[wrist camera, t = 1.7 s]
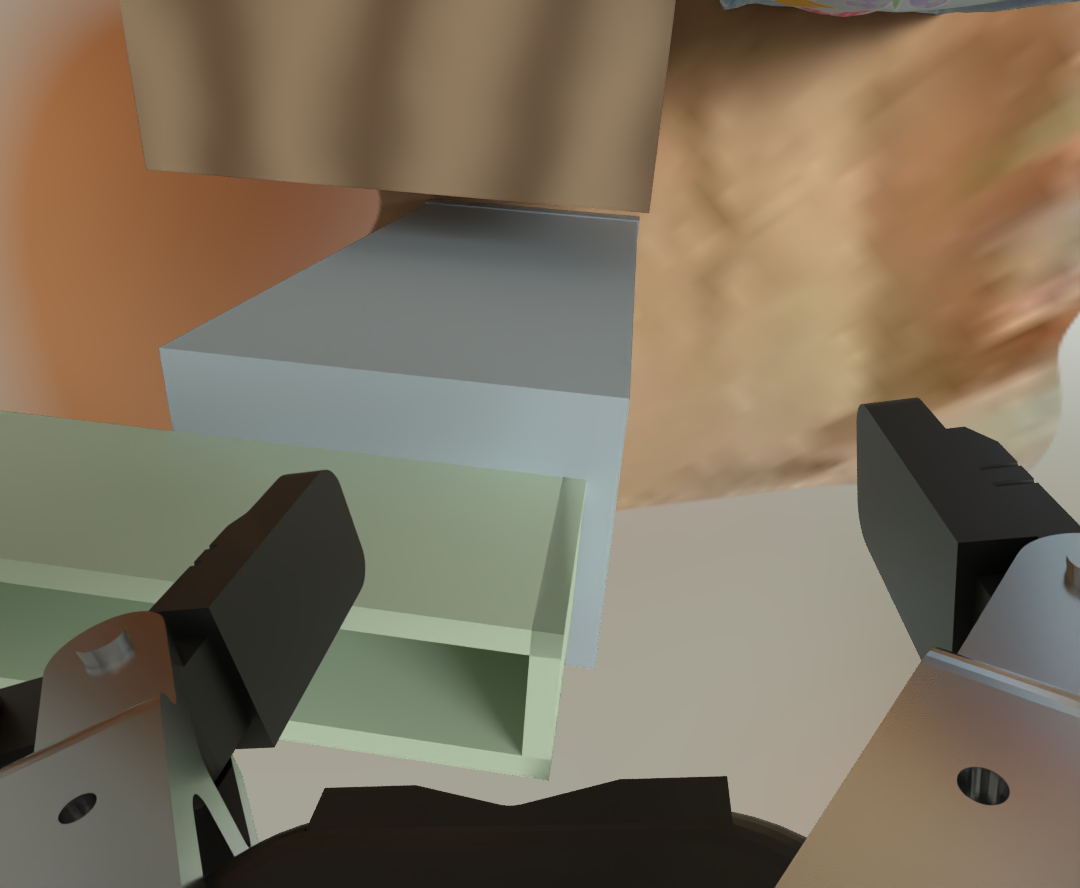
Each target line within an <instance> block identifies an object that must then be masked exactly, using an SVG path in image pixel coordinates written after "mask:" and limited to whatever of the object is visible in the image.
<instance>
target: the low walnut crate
mask: <svg viewBox="0 0 1080 888" xmlns="http://www.w3.org/2000/svg"><path fill="white" fill-rule="evenodd" d="M675 3H676V0H119V4H120V10H121V16H122V23H123V29H124V35H125V41H126V47H127V54H128V60H129V66H130V72H131V79H132V85H133V91H134V97H135V103H136V109H137V116H138V122H139V129H140V135H141V141H142V147H143V153H144V159H145V166H146V169H147V170H158V171H170V172H182V173H193V174H206V175H216V176H228V177H239V178H251V179H262V180H274V181H285V182H296V183H309V184H320V185H331V186H342V187H354V188H366V189H377V190H388V191H400V192H411V193H423V194H434V195H446V196H457V197H469V198H480V199H492V200H503V201H515V202H526V203H538V204H549V205H561V206H572V207H584V208H595V209H607V210H618V211H630V212H641V213H649V210H650V202H651V194H652V186H653V178H654V170H655V162H656V154H657V146H658V138H659V130H660V122H661V114H662V106H663V98H664V90H665V82H666V75H667V67H668V59H669V51H670V43H671V35H672V27H673V19H674V11H675Z"/></svg>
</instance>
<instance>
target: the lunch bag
mask: <svg viewBox="0 0 1080 888" xmlns="http://www.w3.org/2000/svg"><path fill="white" fill-rule="evenodd" d="M719 1H720V4H721V5H722V7H723V10H728V9H733V8H738V7H741V6H744V5H746V4H753V3H758V4H763V5H770V6H790V7H792V6H793V7H796V8H799V9H802V10H806V11H809V12H813V13H818V14H825V15H832V16H840V17H849V16H856V15H864V14H868V13H872V12H875V11H885V12H918V13H931V14H937V15H940V14H946V13H953V12H963V13H969V12H971V13H972V12H996V11H1003V10H1011V9H1020V8H1026V7H1035V6H1043V5H1050V4H1058V3H1066V2H1076V1H1080V0H719Z"/></svg>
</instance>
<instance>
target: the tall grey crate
mask: <svg viewBox="0 0 1080 888" xmlns="http://www.w3.org/2000/svg"><path fill="white" fill-rule="evenodd" d="M638 228H639V217H636V216H625V215H614V214H602V213H591V212H579V211H568V210H556V209H545V208H534V207H522V206H511V205H499V204H488V203H476V202H465V201H454V200H442V199H430V200H428V201H426V202H425V205H423V206H421V207H419V208H417V209H416V210H414V211H412V212H410V213H408V214H406V215H404V216H403V217H401V218H399V219H397V220H395V221H393V222H391V223H390V224H388V225H386V226H384V227H382V228H380V229H378V230H377V231H375V232H373V233H371V234H369V235H367V236H365V237H364V238H362V239H360V240H358V241H356V242H354V243H353V244H351V245H349V246H347V247H345V248H343V249H341V250H339V251H338V252H336V253H334V254H332V255H330V256H328V257H326V258H325V259H323V260H321V261H319V262H317V263H315V264H313V265H312V266H310V267H308V268H306V269H304V270H302V271H300V272H299V273H297V274H295V275H293V276H291V277H289V278H287V279H286V280H284V281H282V282H280V283H278V284H276V285H274V286H273V287H271V288H269V289H267V290H265V291H263V292H261V293H260V294H258V295H256V296H254V297H252V298H250V299H248V300H246V301H245V302H243V303H241V304H239V305H237V306H235V307H234V308H232V309H230V310H228V311H226V312H224V313H222V314H221V315H219V316H217V317H215V318H213V319H211V320H209V321H207V322H206V323H204V324H202V325H200V326H198V327H196V328H195V329H193V330H191V331H189V332H187V333H185V334H183V335H182V336H180V337H178V338H176V339H174V340H172V341H170V342H168V343H167V344H165V345H163V346H161V347H160V348H159V353H160V359H161V364H162V370H163V376H164V382H165V388H166V394H167V399H168V405H169V411H170V416H171V422H172V429H173V431H177V432H186V433H194V434H202V435H211V436H219V437H228V438H236V439H245V440H253V441H262V442H270V443H279V444H287V445H296V446H304V447H313V448H321V449H330V450H338V451H346V452H355V453H363V454H372V455H380V456H389V457H397V458H406V459H414V460H423V461H431V462H440V463H448V464H457V465H465V466H474V467H482V468H491V469H499V470H507V471H516V472H524V473H533V474H541V475H550V476H558V477H567V478H575V479H584V480H586V488H585V497H584V507H583V516H582V526H581V535H580V544H579V554H578V563H577V573H576V582H575V592H574V601H573V608H572V616H571V623H570V630H569V637H568V645H567V652H566V659H565V665H570V666H576V667H584V668H591V669H595V664H596V656H597V649H598V641H599V633H600V625H601V618H602V610H603V602H604V594H605V585H606V578H607V571H608V563H609V555H610V547H611V540H612V532H613V524H614V515H615V509H616V501H617V493H618V485H619V477H620V470H621V462H622V454H623V446H624V439H625V431H626V423H627V415H628V407H629V400H630V379H631V357H632V335H633V313H634V291H635V269H636V247H637V236H638Z"/></svg>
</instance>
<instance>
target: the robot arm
mask: <svg viewBox="0 0 1080 888" xmlns="http://www.w3.org/2000/svg"><path fill="white" fill-rule="evenodd" d="M857 487H858V488H857V489H858V511H859V519H860V525H861V529H862V533H863V537H864V540H865V543H866V545H867V547H868V550H869V552H870V554H871V556H872V558H873V560H874V562H875V564H876V566H877V568H878V570H879V573H880V575H881V577H882V579H883V581H884V583H885V585H886V587H887V589H888V591H889V593H890V596H891V598H892V600H893V602H894V604H895V606H896V608H897V610H898V612H899V614H900V616H901V619H902V621H903V623H904V625H905V627H906V629H907V631H908V633H909V635H910V637H911V639H912V642H913V644H914V646H915V648H916V650H917V652H918V654H919V656H920V658H921V660H922V661H921V662H920V664H919V665H918V667H917V668H916V670H915V672H914V673H913V675H912V676H911V678H910V679H909V681H908V682H907V684H906V686H905V687H904V689H903V690H902V692H901V693H900V695H899V696H898V698H897V699H896V701H895V702H894V704H893V706H892V707H891V709H890V710H889V712H888V713H887V715H886V716H885V718H884V720H883V721H882V723H881V724H880V726H879V727H878V729H877V730H876V732H875V733H874V735H873V737H872V738H871V740H870V741H869V743H868V744H867V746H866V748H865V749H864V750H863V752H862V754H861V755H860V757H859V758H858V760H857V761H856V763H855V764H854V766H853V768H852V769H851V771H850V772H849V774H848V775H847V777H846V778H845V780H844V782H843V783H842V784H841V786H840V788H839V789H838V791H837V792H836V794H835V795H834V797H833V798H832V800H831V801H830V803H829V805H828V806H827V808H826V809H825V811H824V812H823V814H822V815H821V817H820V818H819V820H818V822H817V823H816V825H815V826H814V828H813V829H812V831H811V833H810V834H809V836H808V837H807V838H806V837H804V836H802V835H800V834H797V833H795V832H793V831H791V830H789V829H787V828H784V827H782V826H780V825H777V824H774V823H771V822H768V821H765V820H762V819H759V818H756V817H752V816H748V815H744V814H739V813H735V812H731V806H730V798H729V789H728V782H727V776H722V777H687V778H652V779H620V780H616V781H612V782H608V783H604V784H600V785H596V786H592V787H589V788H584V789H580V790H576V791H572V792H569V793H564V794H561V795H557V796H553V797H549V798H545V799H541V800H537V801H534V802H529V803H525V804H521V805H515V806H505V805H498V804H494V803H490V802H486V801H481V800H477V799H473V798H468V797H464V796H459V795H455V794H451V793H447V792H442V791H438V790H434V789H429V788H425V787H421V786H416V785H411V786H381V787H380V786H378V787H344V788H325V789H324V791H323V793H322V796H321V798H320V800H319V802H318V804H317V807H316V809H315V811H314V813H313V816H312V818H311V820H310V822H309V823H307V824H304V825H301V826H298V827H295V828H292V829H289V830H287V831H284V832H281V833H279V834H277V835H274V836H272V837H270V838H268V839H266V840H264V841H262V842H260V843H259V841H258V837H257V833H256V829H255V825H254V821H253V818H252V813H251V809H250V805H249V801H248V797H247V793H246V789H245V784H244V780H243V776H242V774H241V771H240V769H239V767H238V765H237V763H236V761H235V759H234V757H233V755H232V754H233V752H234V750H235V749H248V748H270V747H275V745H276V743H277V741H278V740H279V738H280V736H281V734H282V732H283V731H284V729H285V727H286V725H287V723H288V722H289V720H290V718H291V716H292V714H293V712H294V711H295V709H296V707H297V705H298V703H299V702H300V700H301V698H302V696H303V694H304V693H305V691H306V689H307V687H308V685H309V683H310V682H311V680H312V678H313V676H314V674H315V673H316V671H317V669H318V667H319V665H320V664H321V662H322V660H323V658H324V656H325V654H326V653H327V651H328V649H329V647H330V645H331V644H332V642H333V640H334V638H335V636H336V635H337V633H338V631H339V629H340V627H341V625H342V624H343V622H344V620H345V618H346V616H347V615H348V613H349V611H350V609H351V607H352V606H353V604H354V602H355V600H356V598H357V596H358V595H359V593H360V591H361V589H362V587H363V584H364V579H365V557H364V552H363V549H362V546H361V543H360V540H359V537H358V534H357V531H356V529H355V526H354V523H353V520H352V517H351V514H350V511H349V508H348V505H347V503H346V500H345V497H344V494H343V491H342V488H341V485H340V483H339V481H338V479H337V477H336V476H335V474H334V473H333V472H331V471H330V470H318V471H310V472H302V473H293V474H285V475H282V476H280V477H279V478H278V479H277V480H276V481H275V482H274V483H273V485H272V486H271V487H270V488H269V489H268V490H267V491H266V492H265V493H264V494H263V496H262V497H261V498H260V499H259V500H258V501H257V502H256V503H255V504H254V505H253V506H252V508H251V509H250V510H249V511H248V512H247V513H246V514H244V515H243V516H241V517H240V518H238V519H237V520H235V521H234V522H232V523H231V524H229V525H228V526H227V527H226V528H225V529H224V530H223V531H222V532H221V533H220V534H219V535H218V536H217V537H216V539H215V540H214V541H213V542H212V543H211V544H210V545H209V547H210V548H209V549H205V550H204V551H203V553H202V554H201V555H200V556H199V557H198V558H197V559H196V560H195V561H194V566H190V567H189V568H188V569H187V570H186V571H185V572H184V573H183V574H182V575H181V576H180V577H179V578H178V579H177V581H176V582H175V583H174V584H173V585H172V586H171V587H170V588H169V589H168V590H167V591H166V592H165V593H164V594H163V596H162V597H161V598H160V599H159V600H158V601H157V602H156V603H155V604H154V605H153V606H152V607H151V608H150V610H149V611H137V612H131V613H126V614H122V615H119V616H116V617H113V618H110V619H108V620H105V621H103V622H101V623H99V624H96V625H94V626H93V627H91V628H89V629H87V630H85V631H84V632H82V633H80V634H79V635H77V636H76V637H74V638H73V639H72V640H70V641H69V642H67V643H66V644H65V645H64V646H63V647H62V648H60V649H59V650H58V651H57V652H56V653H55V654H54V655H53V657H52V658H51V659H50V661H49V662H48V664H47V665H46V667H45V670H44V673H43V677H40V678H36V679H33V680H29V681H26V682H22V683H19V684H15V685H12V686H8V687H5V688H1V689H0V888H1080V526H1079V525H1078V523H1077V522H1076V521H1075V520H1074V519H1073V518H1072V517H1071V516H1070V515H1069V514H1068V513H1067V512H1066V511H1065V510H1064V509H1063V508H1062V507H1061V506H1060V505H1059V504H1058V503H1057V502H1056V501H1055V500H1054V499H1053V498H1052V497H1051V496H1050V495H1049V494H1048V493H1047V492H1046V491H1045V490H1044V489H1043V487H1042V486H1041V485H1039V483H1034V478H1033V477H1032V476H1031V475H1030V474H1029V473H1028V472H1027V471H1026V470H1025V469H1024V468H1023V467H1022V466H1018V464H1017V461H1016V460H1015V459H1014V458H1013V457H1012V456H1011V455H1010V454H1009V453H1008V452H1007V451H1006V450H1005V449H1004V448H1003V446H1002V445H1001V444H1000V443H999V442H997V441H995V440H993V439H991V438H988V437H986V436H984V435H982V434H979V433H977V432H975V431H973V430H971V429H968V428H966V427H958V428H949V429H946V428H945V427H944V426H943V425H942V424H941V423H940V422H939V420H938V419H937V418H936V417H935V416H934V415H933V413H932V412H931V411H930V410H929V409H928V408H927V406H926V405H925V404H924V403H923V402H922V401H921V400H920V399H919V398H909V399H901V400H893V401H884V402H876V403H868V404H861V405H860V406H859V408H858V412H857Z"/></svg>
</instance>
